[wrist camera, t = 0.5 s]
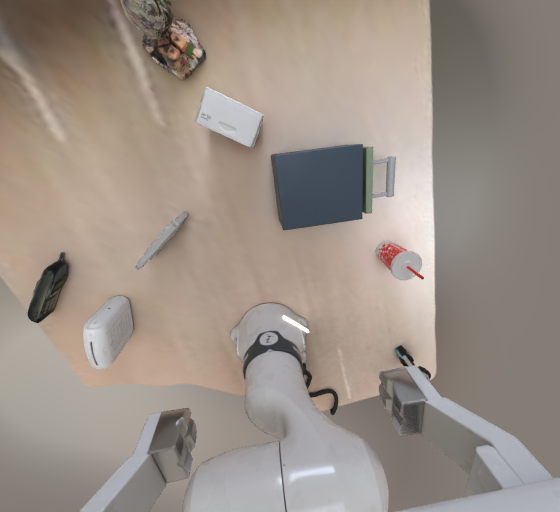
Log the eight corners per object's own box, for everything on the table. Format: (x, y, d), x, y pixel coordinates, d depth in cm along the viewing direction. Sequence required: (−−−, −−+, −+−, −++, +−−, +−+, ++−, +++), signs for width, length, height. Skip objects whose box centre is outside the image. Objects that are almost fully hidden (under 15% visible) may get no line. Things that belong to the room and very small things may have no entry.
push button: (415, 355, 73) (438, 385, 64) (398, 365, 74) (419, 396, 65) (404, 341, 71) (427, 370, 61) (388, 351, 71) (408, 381, 62)
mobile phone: (39, 326, 53) (58, 267, 48) (22, 320, 52) (39, 260, 47) (56, 311, 57) (75, 256, 53) (41, 306, 56) (58, 250, 52)
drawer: (384, 143, 50) (401, 142, 44) (382, 202, 54) (397, 209, 48) (289, 156, 49) (294, 156, 43) (295, 215, 53) (300, 223, 47)
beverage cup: (371, 264, 60) (404, 295, 48) (372, 239, 58) (407, 265, 45) (397, 260, 61) (436, 290, 48) (399, 235, 58) (441, 260, 46)
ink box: (263, 121, 47) (266, 113, 36) (253, 149, 49) (253, 149, 38) (216, 98, 45) (205, 83, 34) (207, 128, 47) (194, 122, 36)
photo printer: (109, 294, 57) (73, 331, 45) (129, 294, 57) (99, 331, 46) (116, 333, 60) (85, 375, 49) (136, 333, 61) (109, 375, 50)
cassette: (154, 256, 54) (140, 272, 47) (146, 250, 54) (131, 266, 47) (191, 215, 52) (181, 226, 45) (183, 209, 51) (172, 219, 44)
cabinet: (346, 145, 50) (362, 144, 42) (347, 209, 55) (362, 219, 47) (270, 154, 49) (274, 155, 42) (278, 219, 54) (283, 230, 47)
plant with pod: (166, -17, 39) (90, -168, 20) (212, 63, 43) (183, -2, 25) (123, 16, 40) (13, -100, 21) (173, 91, 44) (116, 49, 25)
